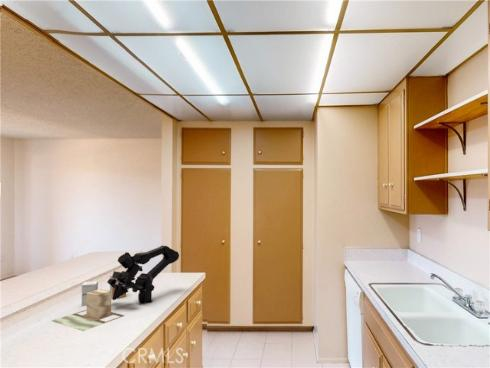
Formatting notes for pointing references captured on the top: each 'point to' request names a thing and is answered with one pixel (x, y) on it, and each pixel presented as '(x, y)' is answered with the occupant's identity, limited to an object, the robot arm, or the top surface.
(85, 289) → the supplement box
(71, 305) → the top surface
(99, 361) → the top surface
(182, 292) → the top surface
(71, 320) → the lane board
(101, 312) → the birch block
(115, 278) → the small box
